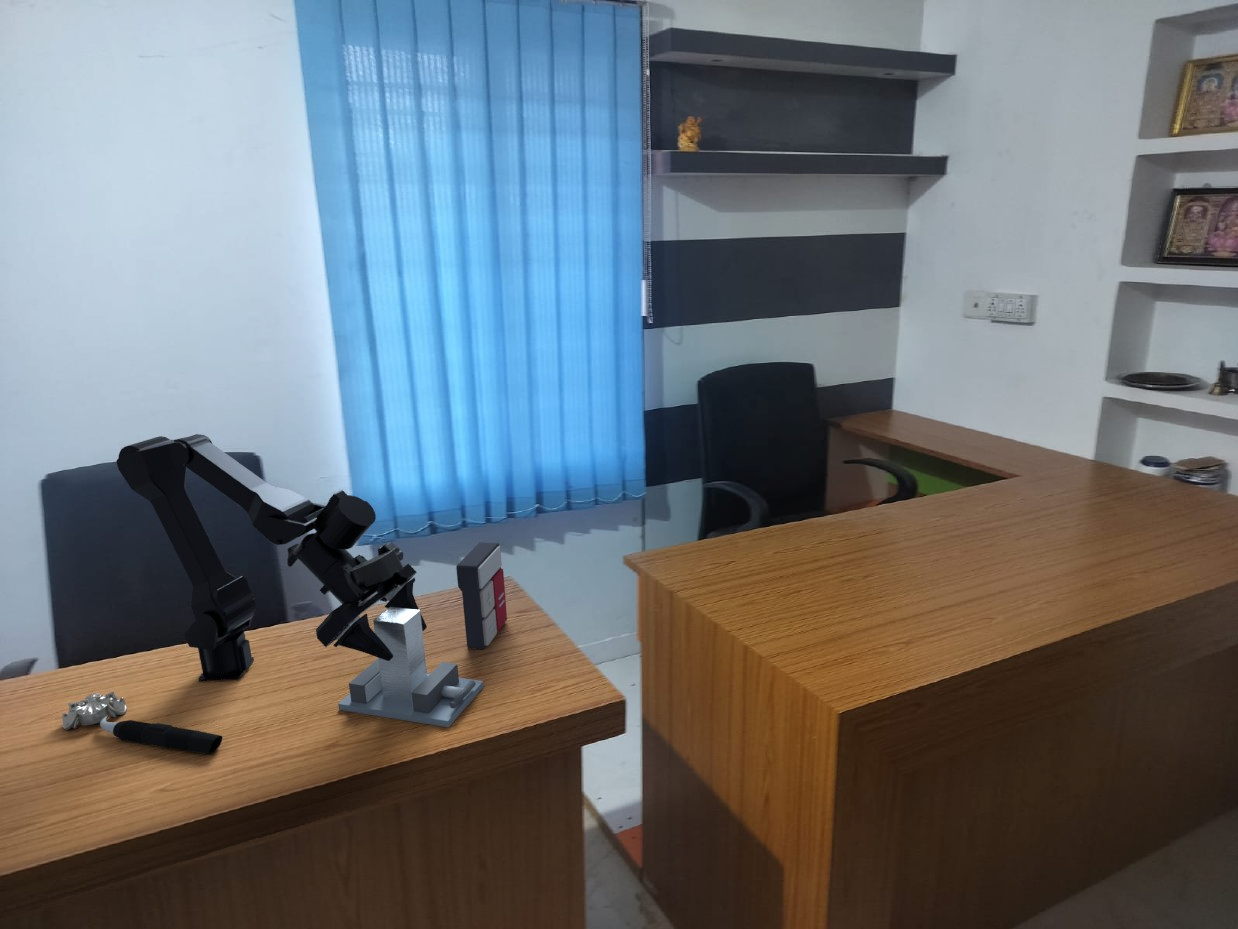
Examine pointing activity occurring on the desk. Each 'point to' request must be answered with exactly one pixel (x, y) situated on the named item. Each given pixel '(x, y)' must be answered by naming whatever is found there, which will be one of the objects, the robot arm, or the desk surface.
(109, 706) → the ornament
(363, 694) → the vise
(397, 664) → the steel block
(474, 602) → the calculator
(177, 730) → the utility knife
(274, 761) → the desk surface
